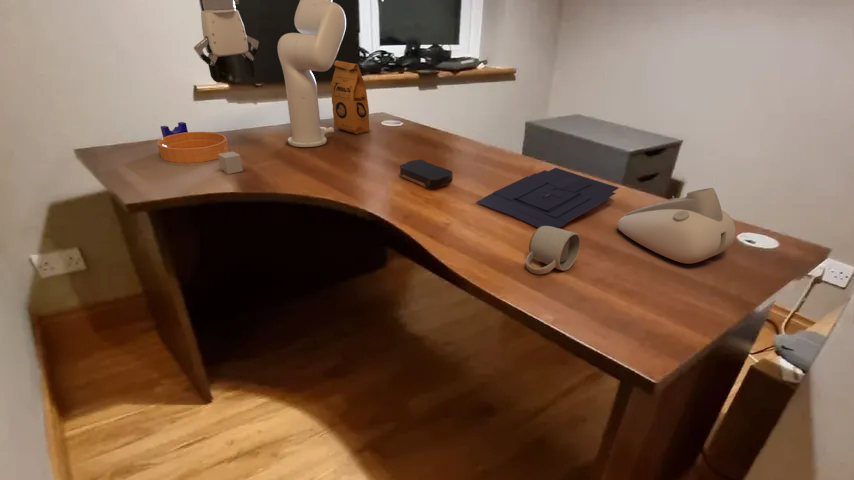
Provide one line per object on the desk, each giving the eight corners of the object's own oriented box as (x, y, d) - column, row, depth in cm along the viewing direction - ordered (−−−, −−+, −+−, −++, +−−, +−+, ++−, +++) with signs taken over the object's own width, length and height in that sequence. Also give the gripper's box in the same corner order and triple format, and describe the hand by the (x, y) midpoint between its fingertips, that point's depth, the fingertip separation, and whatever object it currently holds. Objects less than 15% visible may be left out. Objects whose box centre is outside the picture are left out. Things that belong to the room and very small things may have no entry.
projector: (708, 230, 126) (729, 168, 117) (742, 276, 107) (770, 206, 99) (613, 223, 128) (627, 162, 119) (630, 267, 109) (648, 198, 100)
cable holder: (182, 133, 181) (179, 121, 179) (188, 135, 180) (185, 122, 177) (160, 138, 176) (157, 125, 173) (167, 140, 174) (164, 127, 172)
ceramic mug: (544, 251, 114) (549, 217, 109) (577, 263, 110) (584, 228, 105) (514, 268, 108) (518, 232, 103) (549, 282, 103) (555, 245, 99)
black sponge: (456, 186, 146) (456, 172, 144) (432, 192, 141) (432, 178, 139) (419, 170, 156) (419, 158, 154) (395, 176, 151) (395, 163, 149)
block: (235, 167, 154) (232, 151, 151) (243, 171, 151) (240, 154, 149) (220, 170, 151) (217, 154, 149) (228, 174, 149) (224, 157, 146)
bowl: (212, 143, 173) (209, 128, 170) (240, 157, 162) (237, 141, 159) (151, 153, 162) (147, 138, 159) (176, 169, 151) (172, 153, 148)
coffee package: (352, 136, 185) (348, 65, 172) (330, 129, 191) (324, 61, 179) (374, 131, 191) (371, 63, 178) (351, 124, 198) (347, 58, 185)
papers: (624, 199, 137) (626, 186, 135) (549, 243, 123) (551, 229, 120) (549, 175, 152) (550, 162, 150) (475, 211, 137) (474, 198, 135)
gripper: (243, 1, 141) (256, 72, 151) (178, 5, 131) (197, 81, 141) (257, 3, 136) (270, 76, 147) (191, 8, 127) (209, 85, 137)
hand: (234, 78), depth 144 cm, fingers open, 9 cm apart
